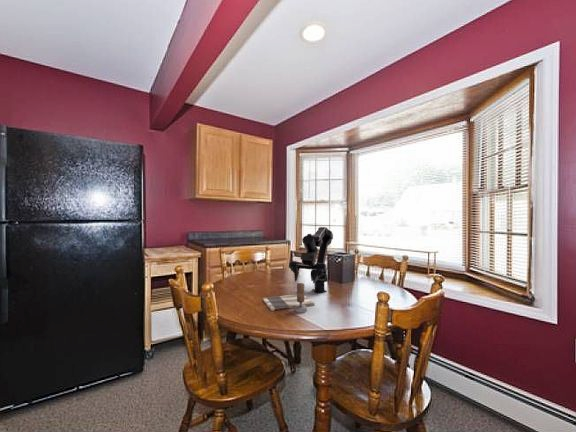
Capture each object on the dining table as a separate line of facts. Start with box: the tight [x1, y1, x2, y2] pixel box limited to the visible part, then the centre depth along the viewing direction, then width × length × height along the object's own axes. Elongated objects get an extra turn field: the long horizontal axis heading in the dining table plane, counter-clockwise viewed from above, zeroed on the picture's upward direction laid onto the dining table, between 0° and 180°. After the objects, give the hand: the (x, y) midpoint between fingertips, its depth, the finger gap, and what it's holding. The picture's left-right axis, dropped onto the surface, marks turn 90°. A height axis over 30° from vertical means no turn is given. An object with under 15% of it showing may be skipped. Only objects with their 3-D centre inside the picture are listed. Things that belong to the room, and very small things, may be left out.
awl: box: [294, 282, 308, 314], centre depth 130 cm, size 6×6×12 cm
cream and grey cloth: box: [262, 293, 315, 312], centre depth 142 cm, size 16×22×1 cm
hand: (304, 282), depth 135 cm, fingers open, 9 cm apart
